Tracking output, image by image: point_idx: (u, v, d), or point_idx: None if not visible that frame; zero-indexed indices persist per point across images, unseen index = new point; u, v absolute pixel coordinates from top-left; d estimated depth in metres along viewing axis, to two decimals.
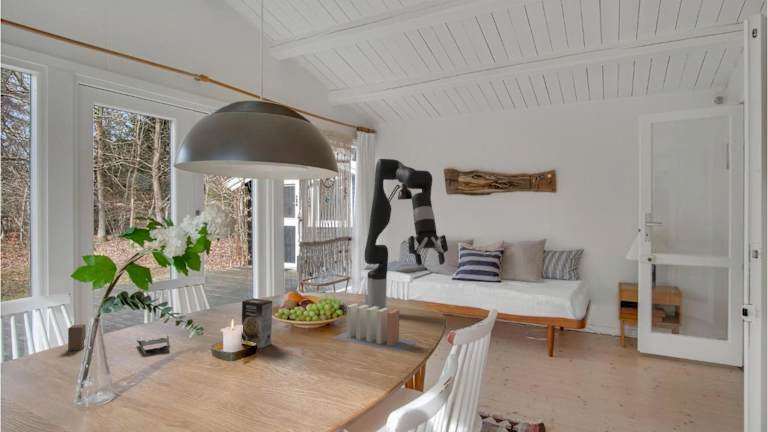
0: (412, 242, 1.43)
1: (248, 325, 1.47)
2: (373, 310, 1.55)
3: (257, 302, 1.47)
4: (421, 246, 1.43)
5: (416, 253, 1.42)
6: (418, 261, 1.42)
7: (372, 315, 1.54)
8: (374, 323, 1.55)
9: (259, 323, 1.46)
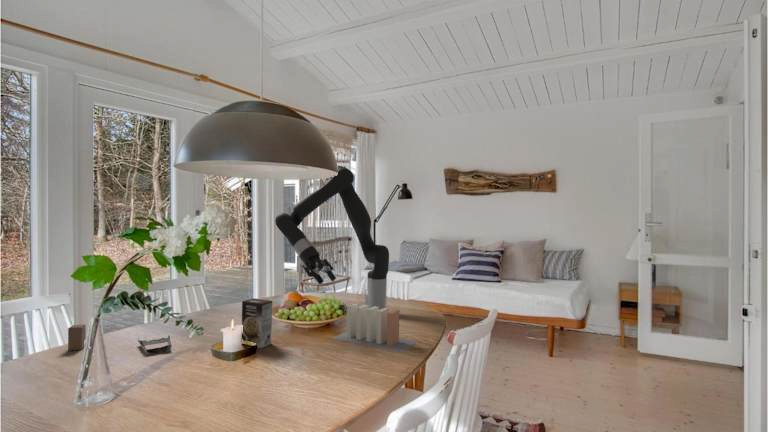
0: None
1: (248, 325, 1.47)
2: (373, 310, 1.55)
3: (257, 302, 1.47)
4: None
5: None
6: None
7: (372, 315, 1.54)
8: (374, 323, 1.55)
9: (259, 323, 1.46)
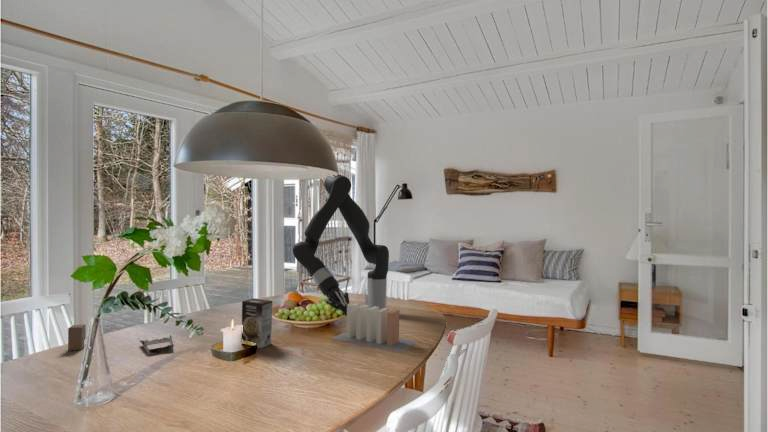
0: None
1: (248, 325, 1.47)
2: (373, 310, 1.55)
3: (257, 302, 1.47)
4: None
5: None
6: None
7: (372, 315, 1.54)
8: (374, 323, 1.55)
9: (259, 323, 1.46)
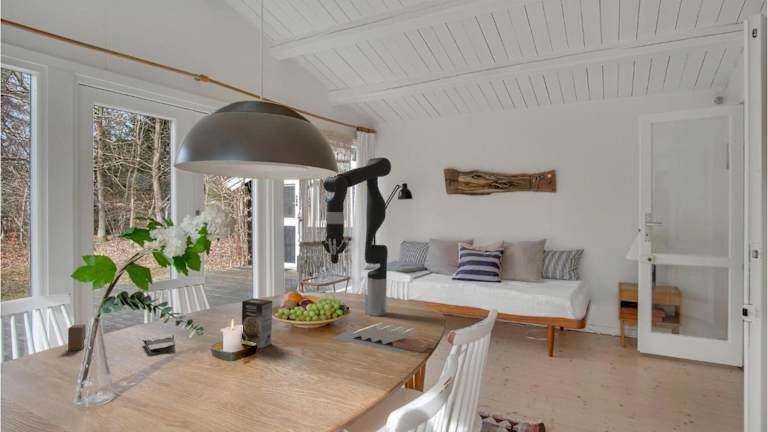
0: (324, 246, 1.75)
1: (248, 325, 1.47)
2: (399, 333, 1.49)
3: (257, 302, 1.47)
4: (330, 247, 1.73)
5: None
6: (331, 260, 1.74)
7: (394, 335, 1.49)
8: None
9: (259, 323, 1.46)
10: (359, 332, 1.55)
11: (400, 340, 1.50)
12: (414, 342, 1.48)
